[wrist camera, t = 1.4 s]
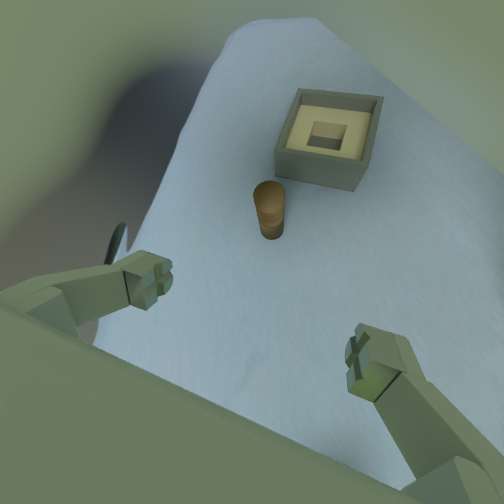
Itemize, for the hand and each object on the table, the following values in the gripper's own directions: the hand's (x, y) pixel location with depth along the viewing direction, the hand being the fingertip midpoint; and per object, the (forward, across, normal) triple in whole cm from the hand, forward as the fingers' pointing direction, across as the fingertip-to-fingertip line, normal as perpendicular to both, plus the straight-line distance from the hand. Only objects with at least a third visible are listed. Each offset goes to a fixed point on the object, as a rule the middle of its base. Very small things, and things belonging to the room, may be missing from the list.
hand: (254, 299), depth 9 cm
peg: (+31, +5, +9) cm, 32 cm away
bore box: (+45, 0, -5) cm, 45 cm away
